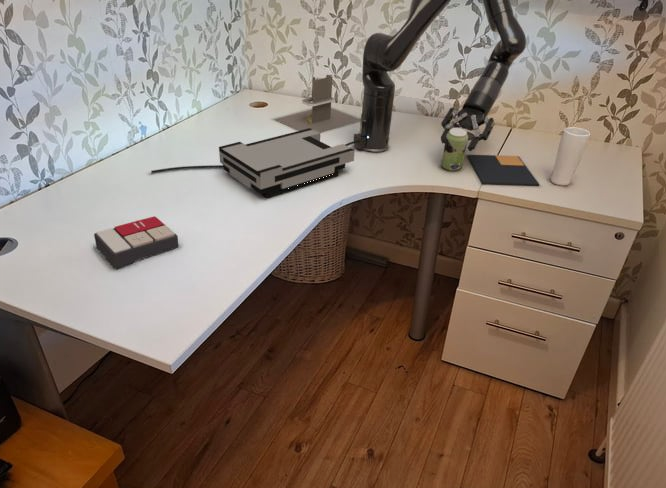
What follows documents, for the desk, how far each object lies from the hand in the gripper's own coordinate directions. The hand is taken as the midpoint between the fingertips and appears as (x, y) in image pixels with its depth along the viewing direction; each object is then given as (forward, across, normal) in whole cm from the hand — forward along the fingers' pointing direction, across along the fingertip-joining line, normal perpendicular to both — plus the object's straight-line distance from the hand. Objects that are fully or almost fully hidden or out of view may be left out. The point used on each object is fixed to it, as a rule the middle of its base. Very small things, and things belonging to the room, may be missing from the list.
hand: (455, 146), depth 154 cm
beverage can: (+5, 0, -5) cm, 7 cm away
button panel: (+68, +30, +58) cm, 94 cm away
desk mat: (-2, -12, -12) cm, 16 cm away
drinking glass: (-4, -28, -15) cm, 32 cm away
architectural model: (+2, +56, -8) cm, 56 cm away
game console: (+31, +33, +21) cm, 50 cm away
